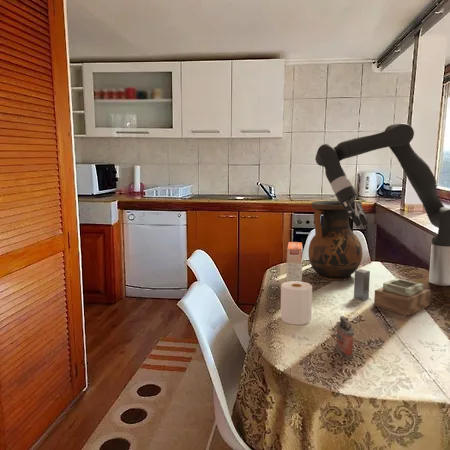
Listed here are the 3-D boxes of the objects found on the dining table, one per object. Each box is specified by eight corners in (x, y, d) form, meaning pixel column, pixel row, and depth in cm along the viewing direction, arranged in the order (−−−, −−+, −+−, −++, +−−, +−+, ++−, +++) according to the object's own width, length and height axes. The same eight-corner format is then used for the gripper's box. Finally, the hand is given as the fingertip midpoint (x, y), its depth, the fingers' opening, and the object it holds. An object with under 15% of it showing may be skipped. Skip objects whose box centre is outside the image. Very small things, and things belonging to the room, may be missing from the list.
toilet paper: (275, 316, 140) (275, 283, 139) (300, 311, 144) (301, 279, 143) (291, 327, 131) (291, 291, 129) (317, 322, 135) (318, 287, 133)
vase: (319, 266, 206) (321, 198, 201) (368, 273, 192) (371, 201, 187) (299, 277, 187) (300, 202, 182) (351, 286, 173) (354, 205, 167)
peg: (359, 295, 161) (360, 269, 159) (368, 298, 158) (369, 271, 156) (353, 297, 159) (354, 270, 157) (362, 300, 156) (364, 272, 154)
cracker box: (301, 302, 155) (302, 248, 151) (285, 301, 156) (286, 248, 153) (301, 290, 168) (302, 241, 165) (287, 289, 169) (287, 241, 166)
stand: (396, 296, 160) (397, 275, 158) (429, 305, 150) (431, 283, 148) (374, 305, 150) (375, 283, 148) (408, 315, 140) (409, 292, 138)
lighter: (333, 346, 117) (334, 313, 116) (344, 345, 118) (345, 313, 116) (343, 359, 109) (345, 324, 108) (355, 358, 110) (357, 324, 108)
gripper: (345, 183, 153) (365, 221, 149) (357, 186, 165) (376, 220, 160) (328, 193, 157) (348, 230, 153) (341, 195, 169) (360, 229, 164)
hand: (362, 225), depth 157 cm, fingers open, 8 cm apart
